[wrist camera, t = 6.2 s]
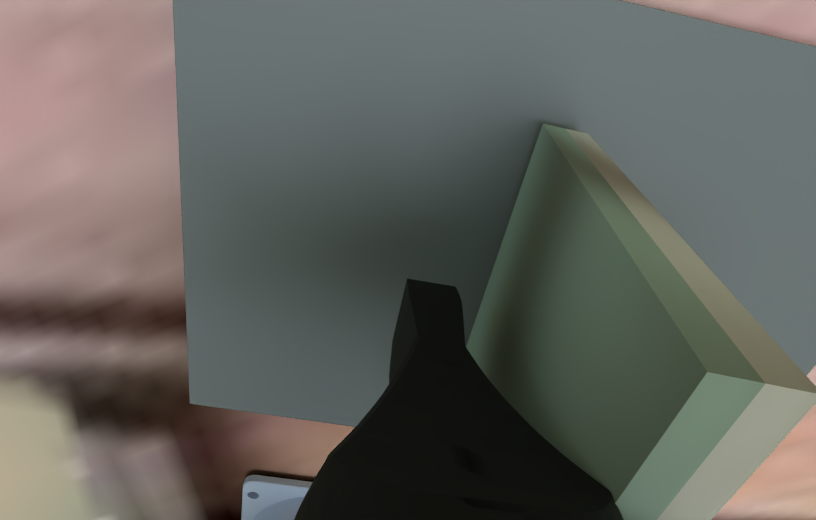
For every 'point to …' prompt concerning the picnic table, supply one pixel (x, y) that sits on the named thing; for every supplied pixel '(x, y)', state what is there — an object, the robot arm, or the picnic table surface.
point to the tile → (629, 342)
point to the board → (458, 169)
